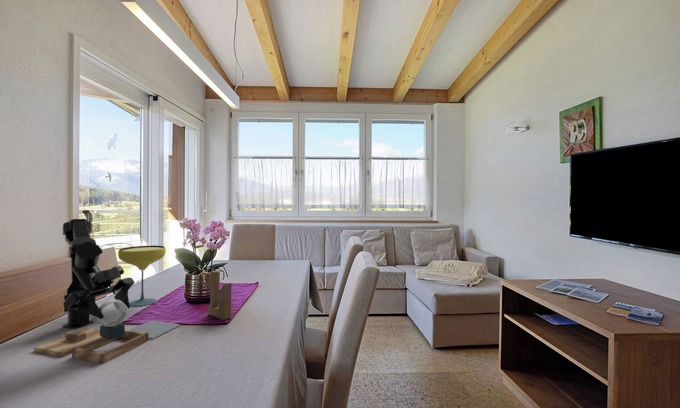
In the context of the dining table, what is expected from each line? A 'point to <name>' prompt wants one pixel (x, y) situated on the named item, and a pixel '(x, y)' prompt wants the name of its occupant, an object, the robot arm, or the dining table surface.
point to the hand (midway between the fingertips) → (116, 313)
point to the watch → (115, 327)
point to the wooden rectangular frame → (102, 357)
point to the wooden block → (219, 297)
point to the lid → (68, 342)
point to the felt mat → (155, 328)
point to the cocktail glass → (141, 264)
